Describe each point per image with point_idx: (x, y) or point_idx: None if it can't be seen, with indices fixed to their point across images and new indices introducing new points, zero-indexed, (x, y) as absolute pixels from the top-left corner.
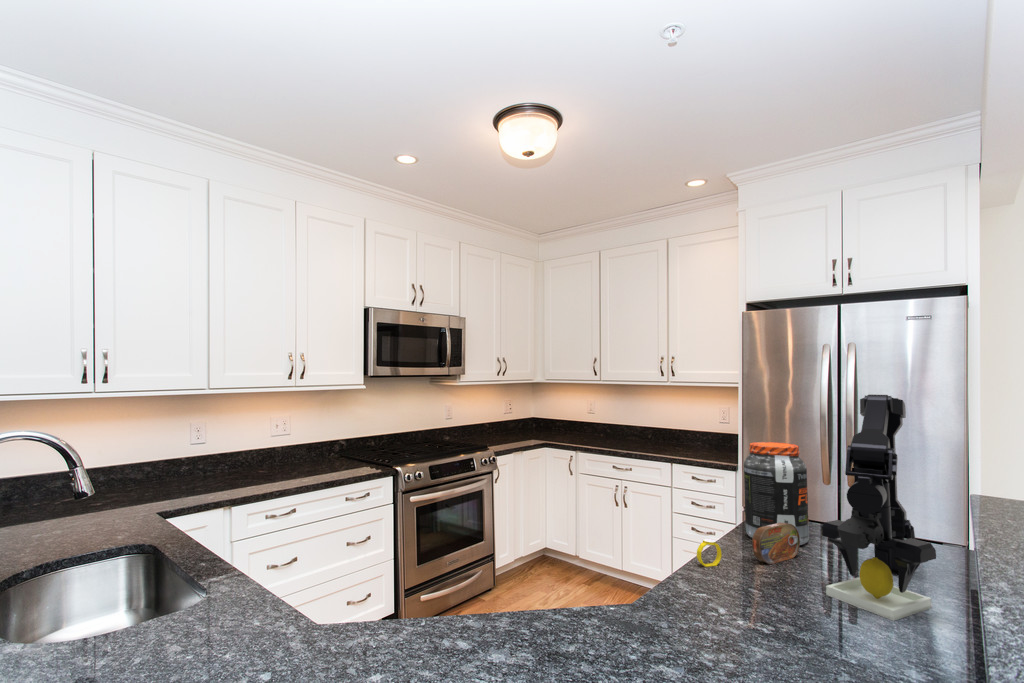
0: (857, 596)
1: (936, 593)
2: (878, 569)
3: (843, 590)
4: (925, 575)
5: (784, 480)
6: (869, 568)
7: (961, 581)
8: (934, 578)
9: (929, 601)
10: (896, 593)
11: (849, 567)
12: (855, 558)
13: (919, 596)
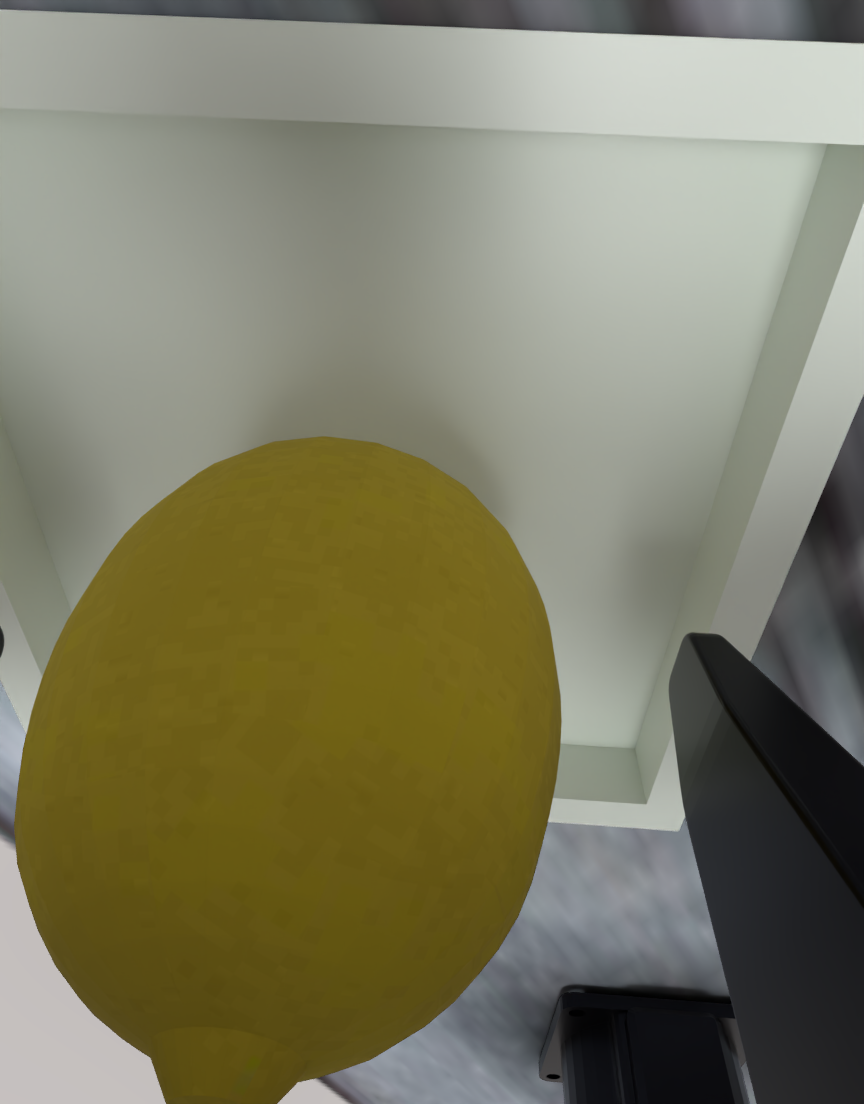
0: (359, 88)
1: None
2: (61, 776)
3: (736, 402)
4: (476, 1054)
5: None
6: (224, 718)
7: (337, 1073)
8: (427, 1047)
9: None
10: None
11: (768, 722)
12: (745, 974)
13: None
